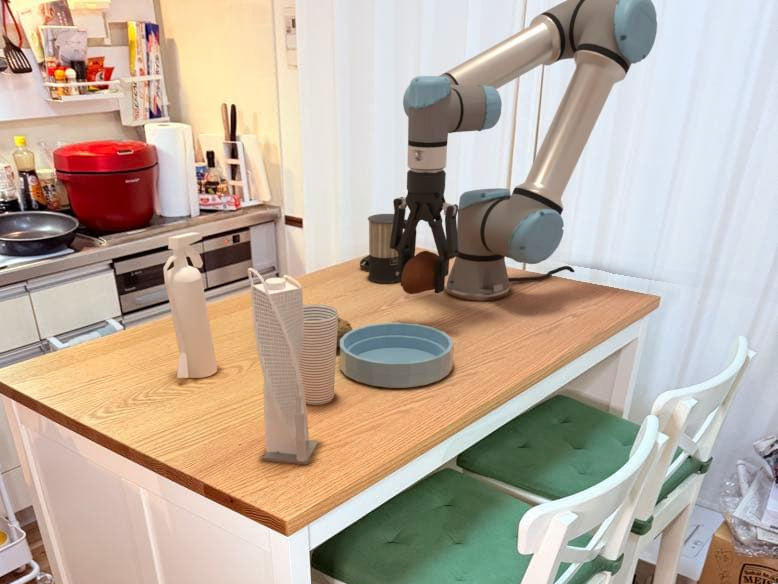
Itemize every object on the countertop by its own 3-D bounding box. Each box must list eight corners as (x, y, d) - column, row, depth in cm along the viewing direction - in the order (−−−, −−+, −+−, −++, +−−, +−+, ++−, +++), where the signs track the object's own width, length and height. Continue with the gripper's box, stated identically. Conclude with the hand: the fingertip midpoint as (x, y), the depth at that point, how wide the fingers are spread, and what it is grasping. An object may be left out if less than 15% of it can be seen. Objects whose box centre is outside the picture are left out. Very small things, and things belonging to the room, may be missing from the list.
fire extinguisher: (161, 381, 144) (137, 242, 130) (201, 359, 153) (183, 227, 138) (190, 388, 141) (169, 247, 127) (229, 365, 150) (213, 231, 136)
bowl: (380, 339, 162) (380, 315, 159) (471, 360, 152) (473, 336, 149) (318, 372, 147) (316, 347, 144) (414, 399, 137) (415, 373, 134)
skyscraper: (254, 459, 119) (235, 276, 103) (270, 435, 126) (255, 259, 110) (306, 464, 118) (295, 279, 102) (320, 440, 124) (312, 263, 108)
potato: (390, 293, 160) (391, 254, 156) (423, 280, 168) (425, 243, 163) (419, 300, 156) (421, 260, 152) (452, 287, 164) (454, 249, 159)
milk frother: (391, 286, 192) (392, 223, 183) (339, 276, 199) (338, 215, 190) (420, 272, 202) (422, 212, 193) (369, 263, 209) (369, 205, 200)
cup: (296, 388, 141) (290, 304, 132) (342, 388, 141) (340, 304, 132) (290, 408, 134) (284, 320, 125) (339, 408, 134) (336, 321, 125)
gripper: (371, 167, 151) (371, 284, 164) (463, 177, 141) (456, 301, 155) (392, 161, 156) (391, 276, 169) (482, 171, 147) (473, 292, 160)
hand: (422, 288), depth 162 cm, fingers closed on potato, 8 cm apart
